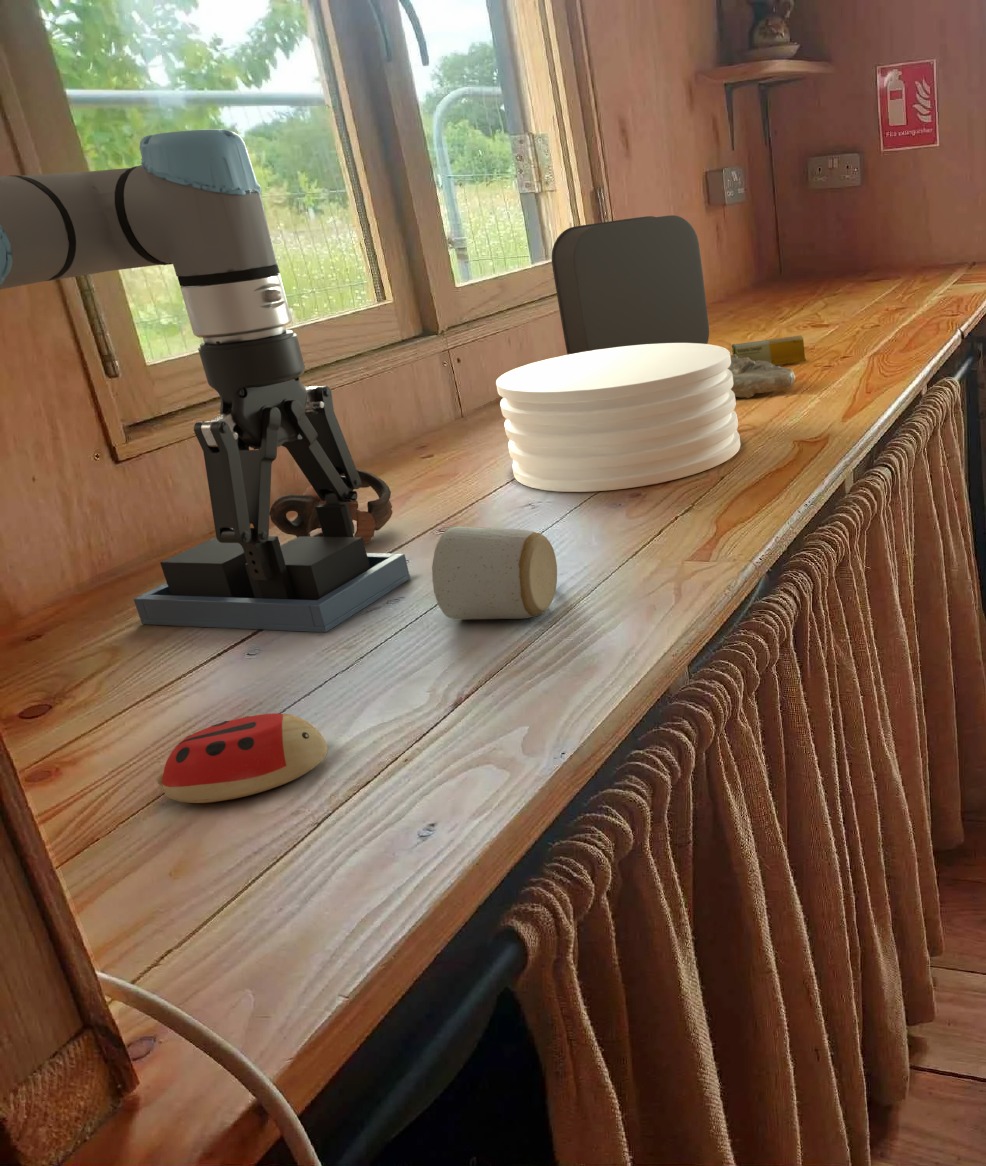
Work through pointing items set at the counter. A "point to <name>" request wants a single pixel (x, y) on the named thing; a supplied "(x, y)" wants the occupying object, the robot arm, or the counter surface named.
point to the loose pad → (320, 565)
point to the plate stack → (620, 416)
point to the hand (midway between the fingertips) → (316, 590)
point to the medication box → (772, 350)
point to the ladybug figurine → (241, 758)
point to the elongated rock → (758, 377)
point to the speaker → (630, 284)
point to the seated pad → (209, 571)
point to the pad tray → (277, 603)
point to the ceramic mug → (493, 573)
